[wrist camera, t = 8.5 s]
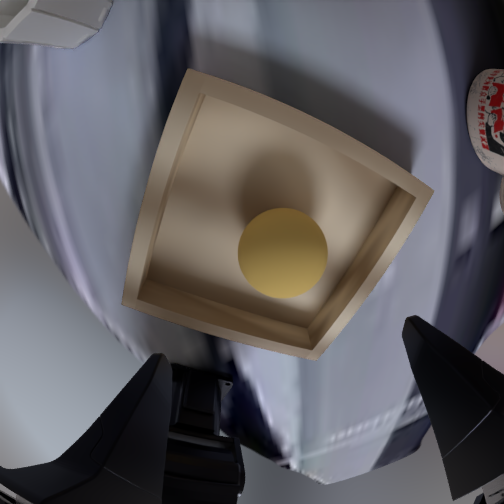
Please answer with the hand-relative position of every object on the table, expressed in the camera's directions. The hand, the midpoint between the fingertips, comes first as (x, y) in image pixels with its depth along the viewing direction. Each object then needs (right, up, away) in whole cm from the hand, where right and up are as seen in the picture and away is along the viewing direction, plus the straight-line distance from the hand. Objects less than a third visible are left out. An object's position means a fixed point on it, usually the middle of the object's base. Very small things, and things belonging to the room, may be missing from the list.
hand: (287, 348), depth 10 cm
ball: (0, +3, +6) cm, 7 cm away
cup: (-13, +19, +1) cm, 23 cm away
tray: (0, +5, +9) cm, 10 cm away
